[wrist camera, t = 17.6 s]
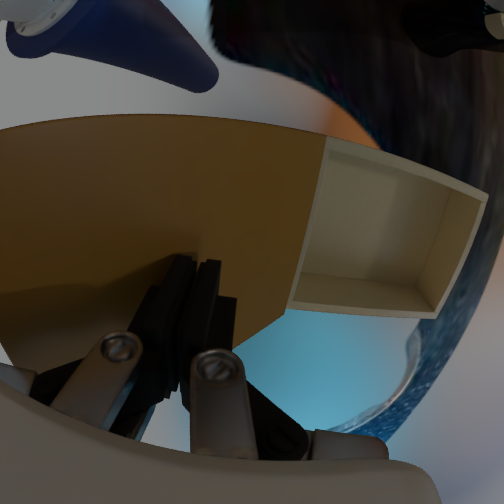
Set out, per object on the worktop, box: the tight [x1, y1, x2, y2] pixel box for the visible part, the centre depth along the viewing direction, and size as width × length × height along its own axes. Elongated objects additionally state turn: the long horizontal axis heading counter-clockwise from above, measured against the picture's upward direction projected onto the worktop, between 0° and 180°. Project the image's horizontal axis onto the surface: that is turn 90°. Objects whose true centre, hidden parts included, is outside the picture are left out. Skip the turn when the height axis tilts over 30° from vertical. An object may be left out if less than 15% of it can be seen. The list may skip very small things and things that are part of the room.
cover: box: [0, 114, 327, 374], centre depth 12 cm, size 16×13×5 cm
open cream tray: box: [286, 134, 489, 319], centre depth 20 cm, size 16×13×5 cm
